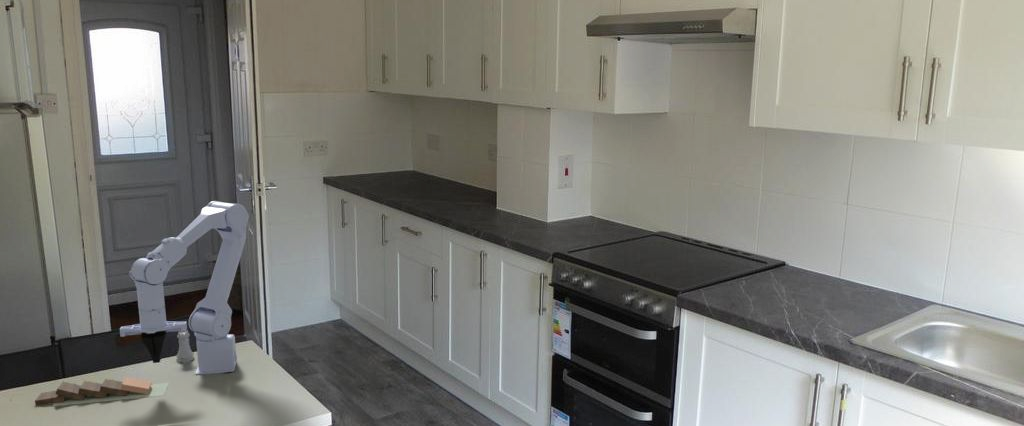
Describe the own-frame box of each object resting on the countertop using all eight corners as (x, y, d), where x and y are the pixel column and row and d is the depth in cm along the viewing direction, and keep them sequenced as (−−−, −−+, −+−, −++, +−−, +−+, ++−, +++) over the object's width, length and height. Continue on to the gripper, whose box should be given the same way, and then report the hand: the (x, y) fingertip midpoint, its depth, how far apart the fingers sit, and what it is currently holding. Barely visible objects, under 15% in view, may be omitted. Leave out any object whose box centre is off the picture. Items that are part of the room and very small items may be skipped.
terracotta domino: (152, 381, 187) (126, 376, 185) (148, 388, 182) (121, 384, 181) (150, 386, 187) (124, 382, 185) (147, 394, 183) (120, 389, 181)
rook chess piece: (197, 357, 207) (194, 329, 205) (190, 363, 202) (188, 334, 201) (180, 357, 207) (178, 329, 205) (173, 363, 202) (171, 335, 201)
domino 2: (89, 387, 183) (63, 381, 181) (84, 395, 179) (57, 388, 177) (87, 392, 183) (61, 386, 181) (82, 400, 179) (55, 394, 177)
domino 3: (111, 385, 184) (84, 380, 183) (106, 392, 180) (79, 388, 178) (110, 390, 184) (83, 386, 183) (105, 398, 180) (78, 393, 179)
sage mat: (169, 383, 189) (169, 382, 189) (163, 396, 182) (163, 395, 182) (62, 394, 183) (62, 392, 183) (51, 407, 176) (51, 406, 176)
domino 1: (68, 388, 182) (41, 393, 181) (63, 396, 178) (34, 400, 176) (70, 394, 182) (42, 398, 181) (64, 401, 178) (36, 406, 177)
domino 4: (131, 383, 185) (105, 378, 184) (127, 390, 181) (100, 386, 180) (130, 388, 186) (104, 384, 184) (126, 396, 181) (99, 391, 180)
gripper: (114, 315, 176) (120, 370, 178) (181, 310, 180) (186, 364, 182) (121, 306, 183) (127, 359, 185) (186, 301, 186) (190, 353, 189)
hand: (157, 361), depth 184 cm, fingers closed
